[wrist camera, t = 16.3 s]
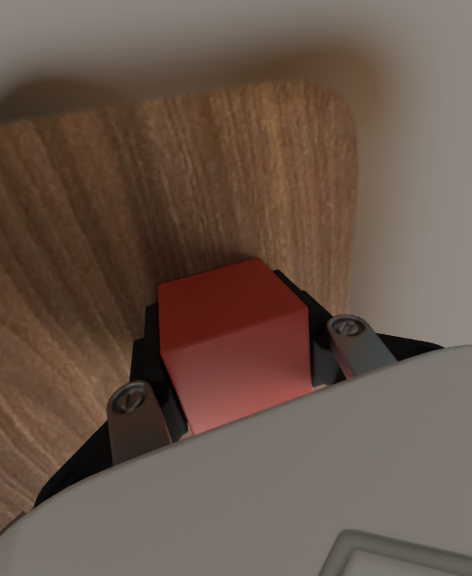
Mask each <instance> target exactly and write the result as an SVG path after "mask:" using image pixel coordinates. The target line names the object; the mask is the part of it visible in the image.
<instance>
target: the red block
mask: <svg viewBox="0 0 472 576" xmlns="http://www.w3.org/2000/svg"><path fill="white" fill-rule="evenodd" d="M158 299H159V329H160V354H161V357H162V359H163V362H164V364H165V367H166V369H167V371H168V374H169V376H170V379H171V381H172V384H173V386H174V389H175V391H176V393H177V396H178V398H179V401H180V403H181V406H182V408H183V411H184V413H185V416H186V418H187V420H188V423H189V425H190V428H191V430H192V433H193V435H196V434H199V433H202V432H205V431H207V430H210V429H213V428H215V427H218V426H221V425H223V424H226V423H229V422H232V421H234V420H237V419H240V418H242V417H245V416H248V415H251V414H253V413H256V412H259V411H262V410H264V409H267V408H270V407H272V406H275V405H278V404H281V403H283V402H286V401H289V400H292V399H294V398H297V397H300V396H303V395H305V394H308V393H311V392H312V381H311V359H310V338H309V316H308V307H307V306H306V305H305V304H304V303H303V302H302V301H301V300H300V299H299V298H298V297H297V296H296V295H295V294H294V293H293V292H292V291H291V290H290V289H289V288H288V287H287V286H286V285H285V284H284V283H283V282H282V281H281V280H280V279H279V278H278V277H277V276H276V275H275V274H274V273H273V272H272V271H271V270H270V269H269V268H268V267H267V266H266V265H265V264H264V263H263V262H262V261H261V260H260V259H259V258H255V259H251V260H248V261H244V262H240V263H237V264H233V265H229V266H226V267H222V268H218V269H214V270H211V271H207V272H203V273H200V274H196V275H192V276H189V277H185V278H181V279H178V280H174V281H170V282H166V283H163V284H159V285H158Z"/></svg>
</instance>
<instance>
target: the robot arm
mask: <svg viewBox="0 0 472 576" xmlns="http://www.w3.org/2000/svg"><path fill="white" fill-rule="evenodd" d="M272 272H273V273H274V274H275V275H276V276H277V277H278V278H279V279H280V280H281V281H282V282H283V283H284V284H285V285H286V286H287V287H288V288H289V289H290V290H291V291H292V292H293V293H294V294H295V295H296V296H297V297H298V298H299V299H300V300H301V301H302V302H303V303H304V304H305V305H306V306H307V307H308V316H309V338H310V359H311V381H312V386H313V387H316V386H319V385H322V384H324V385H327V387H325V388H322V389H319V390H317V391H314V392H311V393H308V394H305V395H303V396H300V397H297V398H294V399H292V400H289V401H286V402H283V403H281V404H278V405H275V406H272V407H270V408H267V409H264V410H262V411H259V412H256V413H253V414H251V415H248V416H245V417H242V418H240V419H237V420H234V421H232V422H229V423H226V424H223V425H221V426H218V427H215V428H213V429H210V430H207V431H205V432H202V433H199V434H196V435H194V436H191V437H188V438H186V439H183V440H180V441H179V439H180V438H181V437H182V435H184V434H186V433H188V425H187V423H188V420H187V418H186V416H185V413H184V411H183V408H182V406H181V403H180V401H179V398H178V396H177V393H176V391H175V389H174V386H173V384H172V381H171V379H170V376H169V374H168V371H167V369H166V367H165V364H164V362H163V359H162V357H161V354H160V329H159V303H156V304H153V305H149V306H146V312H145V332H144V338H141V339H138V340H135V341H134V343H133V352H132V362H131V371H130V381H129V383H127V384H125V385H123V386H122V387H120V388H119V389H118V390H116V391H115V392H114V393H113V395H112V396H111V397H110V399H109V401H108V403H107V409H106V411H107V419H108V420H107V421H106V422H105V423H104V424H103V425H102V426H101V427H100V428H99V429H98V430H97V431H96V432H95V433H94V434H93V435H92V436H91V437H90V438H89V439H88V440H87V441H86V442H85V444H84V445H83V446H82V447H81V448H80V449H79V450H78V451H77V452H76V453H75V454H74V455H73V456H72V457H71V458H70V459H69V460H68V461H67V462H66V463H65V464H64V465H63V466H62V467H61V468H60V469H59V470H58V471H57V472H56V473H55V474H54V475H53V476H52V477H51V478H50V480H49V481H48V482H47V483H46V484H45V486H44V487H43V488H42V490H41V491H40V493H39V495H38V496H37V499H36V502H35V504H34V507H33V509H32V510H31V511H30V512H28V513H27V514H26V513H25V512H24V511H23V512H22V513H21V514H19V515H18V516H17V517H16V518H15V519H14V520H13V521H12V522H10V523H9V524H8V525H7V526H6V527H5V528H4V529H3V530H2V531H0V576H472V345H462V346H454V347H448V348H444V347H442V346H440V345H437V344H434V343H429V342H424V341H418V340H413V339H407V338H402V337H396V336H390V335H385V334H378V333H375V332H374V330H372V328H371V327H370V325H369V324H368V323H367V322H366V321H365V320H364V319H362V318H360V317H357V316H354V315H347V314H346V315H338V316H334V317H333V316H332V315H331V314H330V313H329V312H328V311H327V310H325V309H324V308H323V307H322V306H321V305H320V304H319V303H318V302H317V301H316V300H314V299H313V298H312V297H311V296H310V295H309V294H308V293H307V292H306V291H304V290H302V291H301V290H300V289H299V288H298V287H297V286H296V285H295V284H294V283H292V282H291V281H290V280H289V279H288V278H287V277H286V276H285V275H284V274H283V273H282V272H281V271H280V270H278V269H277V270H274V271H272Z"/></svg>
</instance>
